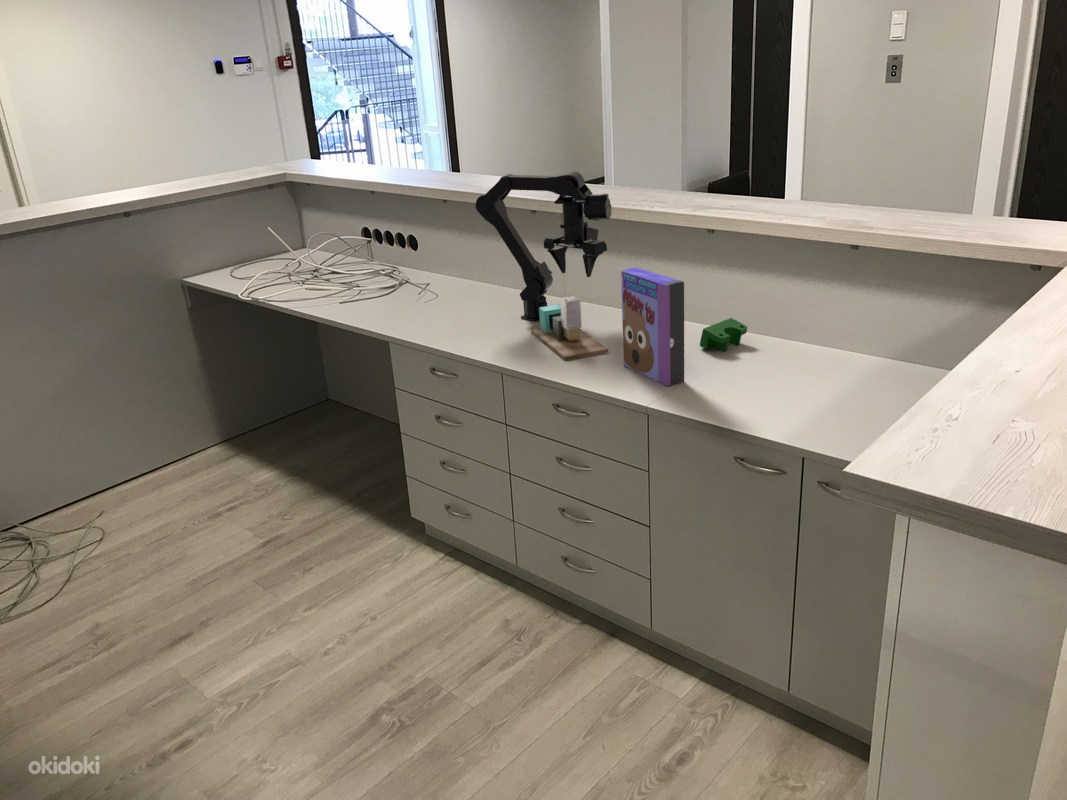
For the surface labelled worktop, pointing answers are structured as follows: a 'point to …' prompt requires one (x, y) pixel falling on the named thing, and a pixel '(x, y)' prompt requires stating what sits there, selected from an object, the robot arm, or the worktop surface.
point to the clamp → (722, 334)
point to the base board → (571, 345)
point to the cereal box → (653, 325)
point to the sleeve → (557, 328)
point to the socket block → (545, 314)
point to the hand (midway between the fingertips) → (576, 274)
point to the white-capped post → (569, 317)
